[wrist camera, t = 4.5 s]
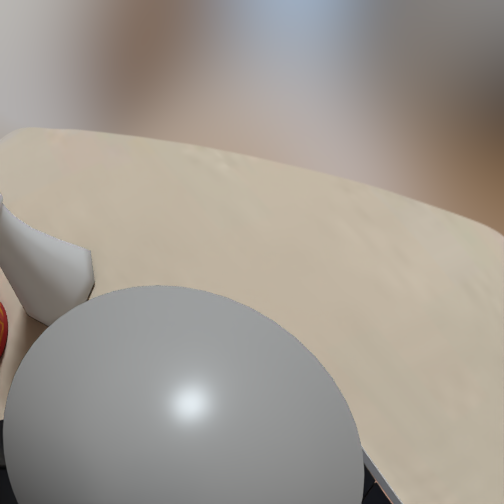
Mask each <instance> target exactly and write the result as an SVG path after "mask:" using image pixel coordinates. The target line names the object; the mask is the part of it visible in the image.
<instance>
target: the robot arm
mask: <svg viewBox="0 0 504 504" xmlns="http://www.w3.org/2000/svg"><path fill="white" fill-rule="evenodd" d="M3 423H4V420H0V504H18V502H17V499H16V497H15V495H14V492H13V489H12V486H11V483H10V479H9V476H8V472H7V467H6V462H5V456H4V446H3ZM363 463H364V462H363ZM361 504H392V503H391V501H390V500H389V499H388V497H387V496H386V494H385V493H384V492H383V490H382V489H381V487H380V486H379V484H378V483H377V482H376V480H375V478H374V477H373V475H372V474H371V472H370V471H369V469H368V468H367V466H366V465H365V463H364V487H363V498H362V502H361Z"/></svg>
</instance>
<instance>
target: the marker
mask: <svg viewBox="0 0 504 504" xmlns="http://www.w3.org/2000/svg"><path fill="white" fill-rule="evenodd" d="M3 446H4V456H5V462H6V467H7V472H8V476H9V479H10V483H11V486H12V489H13V492H14V495H15V497H16V499H17V502H18V504H361V502H362V498H363V487H364V463H363V452H362V446H361V442H360V438H359V434H358V431H357V427H356V423H355V421H354V419H353V416H352V414H351V411H350V409H349V407H348V404H347V402H346V400H345V398H344V397H343V395H342V393H341V392H340V390H339V388H338V387H337V385H336V383H335V381H334V380H333V378H332V377H331V376H330V374H329V373H328V372H327V371H326V369H325V368H324V367H323V366H322V364H321V363H320V362H319V360H318V359H317V358H316V357H315V356H314V355H313V354H312V353H311V352H310V351H309V350H308V349H307V348H306V347H305V346H304V345H303V344H302V343H301V342H300V341H299V340H298V339H297V338H296V337H294V336H293V335H292V334H290V333H289V332H288V331H286V330H285V329H284V328H282V327H281V326H280V325H278V324H277V323H276V322H274V321H273V320H271V319H269V318H268V317H266V316H264V315H262V314H261V313H259V312H257V311H256V310H254V309H252V308H250V307H248V306H245V305H243V304H241V303H238V302H236V301H234V300H232V299H229V298H226V297H223V296H220V295H216V294H213V293H210V292H207V291H202V290H197V289H191V288H185V287H178V286H159V285H156V286H142V287H132V288H127V289H122V290H117V291H113V292H110V293H107V294H104V295H101V296H98V297H95V298H93V299H91V300H89V301H86V302H84V303H82V304H80V305H78V306H76V307H75V308H73V309H72V310H70V311H69V312H67V313H66V314H64V315H63V316H61V317H60V318H58V319H57V320H56V321H55V322H54V323H53V324H52V325H50V326H49V327H48V328H47V329H46V330H45V331H44V332H43V333H42V334H41V335H40V337H39V338H38V339H37V340H36V341H35V342H34V343H33V345H32V346H31V348H30V349H29V351H28V352H27V354H26V355H25V357H24V358H23V360H22V362H21V364H20V366H19V368H18V370H17V372H16V374H15V376H14V378H13V381H12V384H11V387H10V390H9V393H8V397H7V402H6V407H5V412H4V423H3Z"/></svg>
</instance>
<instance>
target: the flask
mask: <svg viewBox="0 0 504 504" xmlns="http://www.w3.org/2000/svg"><path fill="white" fill-rule="evenodd" d="M2 202H3V197H2V194H1V193H0V267H1V269H2V271H3V272H4V274H5V276H6V278H7V279H8V281H9V283H10V285H11V286H12V288H13V290H14V292H15V294H16V295H17V297H18V299H19V301H20V303H21V304H22V306H23V308H24V309H25V311H26V313H27V314H28V315H29V316H31V317H32V318H34V319H36V320H38V321H40V322H41V323H43V324H45V325H47V326H50V325H52V324H53V323H54V322H55V321H56V320H57V319H58V318H60V317H61V316H63V315H64V314H66V313H67V312H69V311H70V310H72V309H73V308H75V307H76V306H78V305H80V304H82V303H84V302H86V300H87V298H88V296H89V293H90V291H91V289H92V287H93V284H94V282H95V281H94V273H93V266H92V258H91V251H90V250H87V249H85V248H82V247H80V246H77V245H74V244H71V243H68V242H65V241H62V240H60V239H57V238H55V237H52V236H50V235H48V234H45V233H43V232H40V231H38V230H36V229H33V228H31V227H30V226H28V225H27V224H25V223H24V222H22V221H21V220H19V219H18V218H17V217H15V216H14V215H13V214H12V213H11V212H10V211H9V210H8V209H7V208H6V207H5V206H4V204H3V203H2Z"/></svg>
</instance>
